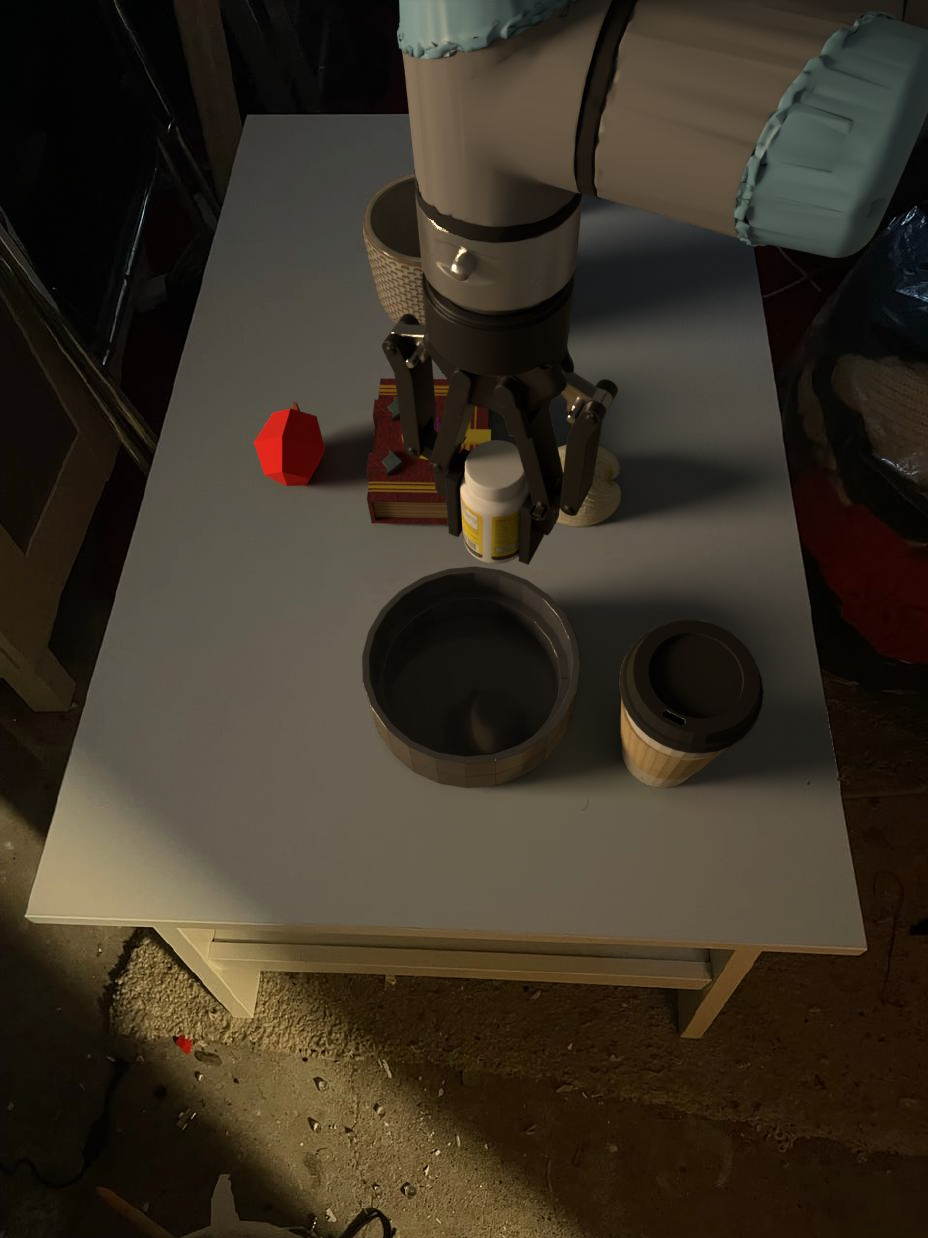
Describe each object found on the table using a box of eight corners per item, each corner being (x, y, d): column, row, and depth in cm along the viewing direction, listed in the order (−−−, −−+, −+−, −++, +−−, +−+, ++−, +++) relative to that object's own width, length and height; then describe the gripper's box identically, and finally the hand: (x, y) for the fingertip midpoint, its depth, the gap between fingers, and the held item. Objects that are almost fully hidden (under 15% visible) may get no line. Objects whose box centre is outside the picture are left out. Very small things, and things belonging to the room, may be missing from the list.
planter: (525, 297, 99) (529, 192, 87) (466, 382, 93) (463, 281, 82) (415, 259, 102) (406, 154, 91) (353, 339, 96) (334, 237, 85)
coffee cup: (738, 730, 74) (792, 650, 61) (690, 832, 70) (736, 770, 57) (631, 677, 76) (659, 588, 63) (578, 772, 73) (597, 699, 59)
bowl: (602, 647, 78) (611, 611, 72) (524, 824, 71) (527, 800, 65) (426, 578, 82) (421, 539, 76) (335, 739, 74) (322, 709, 69)
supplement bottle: (537, 520, 65) (543, 444, 57) (518, 573, 63) (522, 502, 55) (474, 503, 65) (472, 427, 58) (453, 555, 63) (449, 483, 56)
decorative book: (369, 527, 85) (362, 496, 80) (383, 398, 92) (378, 363, 88) (488, 529, 84) (488, 498, 80) (493, 399, 92) (493, 364, 87)
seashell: (637, 520, 81) (567, 510, 77) (580, 536, 89) (513, 527, 85) (636, 434, 82) (566, 419, 78) (579, 457, 90) (513, 444, 85)
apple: (305, 475, 81) (316, 392, 82) (238, 474, 83) (250, 392, 84) (335, 497, 88) (346, 419, 88) (273, 494, 89) (284, 418, 90)
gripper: (301, 263, 44) (362, 530, 64) (644, 376, 40) (592, 623, 60) (374, 174, 47) (410, 455, 67) (699, 269, 43) (632, 539, 63)
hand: (496, 534), depth 64 cm, fingers closed on supplement bottle, 5 cm apart
